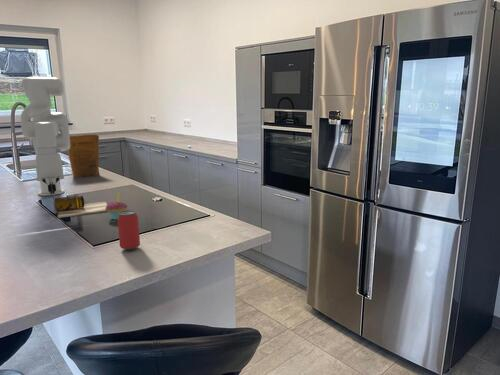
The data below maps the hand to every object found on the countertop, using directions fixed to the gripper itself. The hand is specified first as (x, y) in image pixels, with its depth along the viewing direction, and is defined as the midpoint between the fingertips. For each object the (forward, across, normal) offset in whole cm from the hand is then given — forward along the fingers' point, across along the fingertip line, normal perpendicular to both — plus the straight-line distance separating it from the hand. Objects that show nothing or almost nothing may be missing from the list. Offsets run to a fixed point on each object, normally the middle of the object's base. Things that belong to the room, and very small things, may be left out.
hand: (52, 193), depth 166 cm
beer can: (+9, -23, +56) cm, 61 cm away
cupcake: (+10, -24, +20) cm, 32 cm away
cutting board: (+9, -12, 0) cm, 15 cm away
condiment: (+5, 0, 0) cm, 5 cm away
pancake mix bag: (+10, -18, -79) cm, 82 cm away
